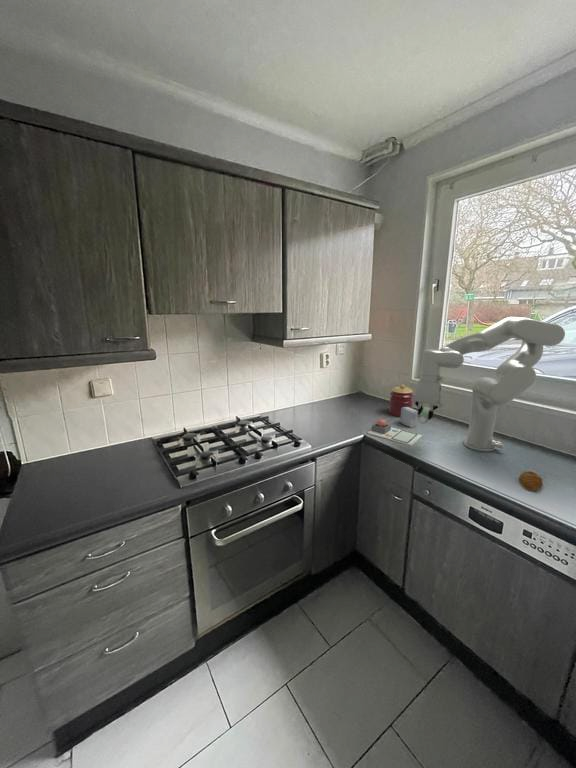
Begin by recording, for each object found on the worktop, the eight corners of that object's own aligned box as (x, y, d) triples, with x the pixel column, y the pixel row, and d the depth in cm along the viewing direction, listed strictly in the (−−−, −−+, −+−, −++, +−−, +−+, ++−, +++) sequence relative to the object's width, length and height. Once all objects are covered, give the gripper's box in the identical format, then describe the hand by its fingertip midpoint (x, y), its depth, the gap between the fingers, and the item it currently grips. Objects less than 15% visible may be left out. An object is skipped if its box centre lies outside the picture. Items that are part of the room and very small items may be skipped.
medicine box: (416, 426, 167) (418, 411, 164) (410, 427, 165) (411, 412, 163) (406, 421, 174) (407, 406, 172) (399, 422, 172) (401, 407, 170)
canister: (383, 411, 189) (386, 383, 185) (400, 408, 194) (402, 380, 190) (399, 418, 178) (402, 388, 173) (416, 415, 183) (419, 385, 178)
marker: (433, 413, 145) (433, 407, 144) (426, 424, 139) (426, 418, 138) (425, 411, 148) (425, 405, 146) (418, 423, 142) (418, 416, 140)
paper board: (422, 436, 154) (422, 429, 154) (411, 446, 144) (412, 439, 143) (379, 425, 168) (380, 419, 167) (367, 433, 158) (367, 427, 157)
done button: (387, 426, 160) (387, 420, 159) (383, 428, 157) (384, 422, 156) (379, 423, 163) (379, 418, 162) (375, 426, 160) (375, 420, 159)
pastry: (544, 495, 108) (546, 485, 107) (519, 489, 111) (521, 480, 110) (540, 482, 116) (542, 472, 115) (517, 477, 119) (519, 468, 118)
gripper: (452, 379, 136) (447, 419, 140) (413, 373, 146) (409, 411, 151) (447, 382, 130) (442, 424, 135) (407, 376, 140) (403, 415, 145)
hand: (425, 417), depth 143 cm, fingers closed on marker, 3 cm apart
